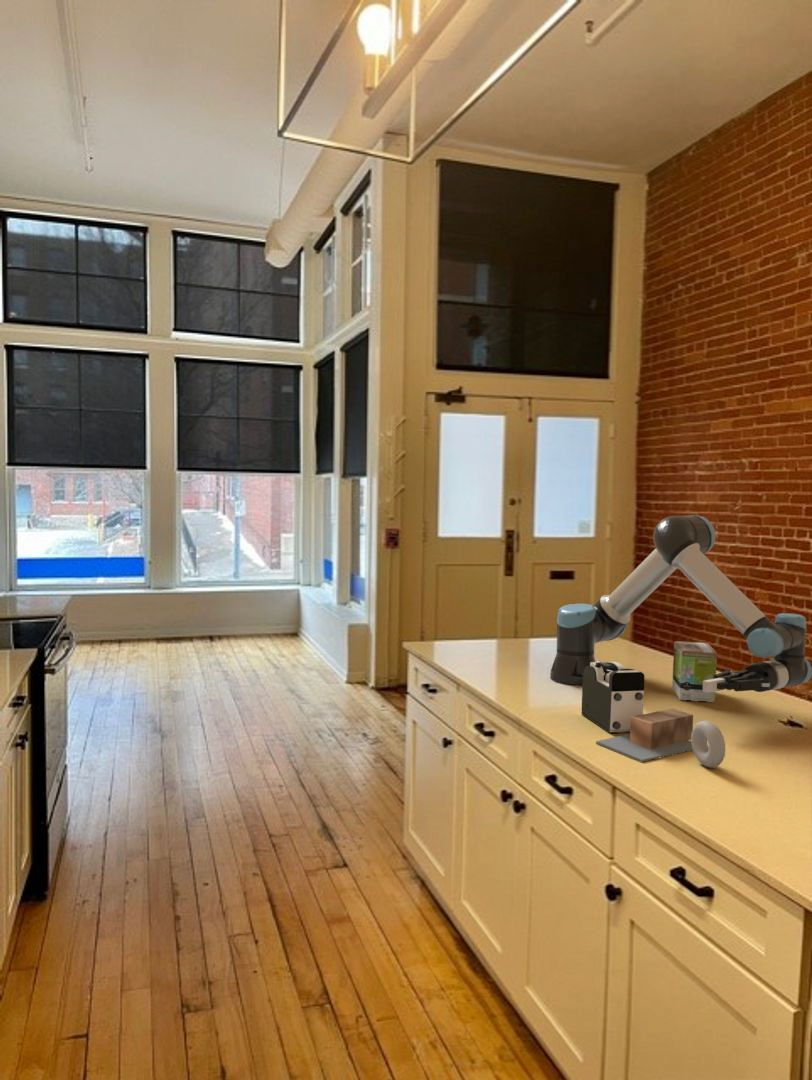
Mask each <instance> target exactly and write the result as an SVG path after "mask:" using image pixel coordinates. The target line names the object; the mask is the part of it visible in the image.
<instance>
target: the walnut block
mask: <svg viewBox="0 0 812 1080" xmlns="http://www.w3.org/2000/svg"><path fill="white" fill-rule="evenodd" d="M693 728H694V714H692V713H688V712H685V711H682V710H679V709H676V708H669V709H663V710H658V711H653V712H650V713H647V714H642V715H637V716H632V717H631V728H630V732H629V734H630V742H633V743H635V744H638V745H640V746H643V747H645V748H648V749H653V748H657V747H662V746H666V745H670V744H675V743H679V742H683V741H691V735H692V731H693Z"/></svg>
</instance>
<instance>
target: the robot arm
mask: <svg viewBox="0 0 812 1080" xmlns="http://www.w3.org/2000/svg"><path fill="white" fill-rule="evenodd" d="M652 537H653V538H652V539H653V544H654V548H655V549H653V551H651V553H649V555H648V556H647V557H646V558H645V559H644V560H643V561H642V562H641V563H640V564H639V565H638V566H637V567H636V568H635V569H634V570H633V571H632V572H631V573H630V574H629V575H628V576H627V577H626V578H625V579H624V580H623V581H622V582H621V583H620V584H619V585H618V586H617V587H616V588H615V589H614V590H613V591H612V592H611V593H610V594H603V595H602V596H600V597H599V598H598V600H597V601H596V602H595V603H594V604H593V605H592V604H587V603H574V604H573V603H571V604H570V603H569V604H566V605H563V606H561V607H560V608H558V612H557V619H556V624H557V625H556V626H557V627H556V655H555V657H554V660H553V663H552V666H551V669H550V674H549V675H550V679H551V680H552V681H554V682H557V683H560V684H567V685H576V686H578V685H579V686H583V672H584V669H585V667H586V666H590V662H596V661H597V660H596V659H595V644H596V643H602V642H609V641H613V640H615V639H617V638H620V636H622V635H623V633H625V631H626V629H627V627H628V625H627V624H629V622H630V620H631V614H632V613H633V612H634V611H635V610H636V609H637V608H638V607H639V606H640V605H641V604H642V603H643V602H644V601H645V600H646V599H647V598H648V597H649V596H650V595H651V594H652V593H653V592H654V591H655V590H657V588H658V587H659V586H660V585H662V583H664V581H666V579H668V578H669V577H670V576H671V575H672V574H673V573H674V572H675V571H676V570H679V571H680V572H682V573H683V575H684V576H685V577H686V578H687V579H688V580H689V581H690V582H691V583H692V584H693V585H694V586H695V587H696V588H697V589H698V590H699V591H700V592H701V593H702V595H703V596H705V598H707V600H709V602H711V604H713V606H714V607H715V608H716V609H717V610H718V611H719V612H720V613H721V614H722V615H723V616H724V617H725V618H726V619H727V620H728V621H729V622H730V623H731V624H732V625H733V626H734V627H735V628H736V630H738V631H739V632H740V633H741V634H742V635H743V636H744V638H745V639H746V644H747V649H748V650H749V652H751V654H753V655H754V656H756V657H758V658H764V659H765V658H771V659H770V660H766V661H758V662H753V663H750V664H749V665H747V667H746V668H745V669H741V670H740V671H736V672H733V671H732V669H729V668H728V669H727V668H726V669H725V670H724V671H722V672H719V673H716V675H713V679H710V680H704V681H703V692H706V693H709V692H715V693H716V692H719V691H724V690H727V691H731V690H733V691H734V692H746V691H748V692H749V691H753V692H756V693H763V692H768V691H775V690H779V689H782V688H789V687H797V686H800V685H802V684H805V683H807V682H808V681H809V680H811V678H812V665H811V662H810V661H809V660H807V659H806V653H805V652H806V636H807V619H806V617H805V616H804V615H802V614H796V613H789V612H788V613H787V612H785V613H783V612H782V613H777V614H776V615H775V619H774V623H773V621H771V620H770V619H769V618H768V617H767V616H766V614H765V613H763V612H762V610H760V609H759V607H758V606H756V605H755V604H754V603H753V602H752V601H751V600H750V598H748V597H747V595H745V594H744V592H742V591H741V590H740V589H739V588H738V587H737V586H736V585H735V583H733V582H732V581H731V580H730V579H729V578H728V577H727V576H726V575H725V573H723V572H722V571H721V570H720V569H719V568H718V567H717V565H715V564H714V562H712V561H711V560H710V558H708V557H707V556H706V555H705V554H706V553H708V552H709V551H710V550H711V549H712V548H713V547H714V546H715V543H716V530H715V527H714V526H713V524H712V522H711V521H710V520H709V519H707V518H706V517H704V516H702V515H701V516H700V515H697V514H696V515H695V514H689V515H671V516H670V515H669V516H666V517H665V518H663V519H662V520H660V521H659V522H657V525H656V526H655V528H654V529H653V535H652ZM772 657H773V658H772Z"/></svg>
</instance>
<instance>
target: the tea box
mask: <svg viewBox="0 0 812 1080" xmlns="http://www.w3.org/2000/svg"><path fill="white" fill-rule="evenodd" d="M717 663H718V652H717V651H716V650H715V649H714V648H712V646H711V645H710V644H709V643H707V642H696V641H695V642H692V641H680V640H679V641H678V640H675V641H674V644H673V663H672V679H671V680H672V684H671V685H672V686H671V687H672V689H673V691H674V693H675V694H676V697H677V698H678V699H679V701H686V700H691V701H690V702H698V701H707V702H706V703H714V702H715V699H716V698H715V697H716V691H715V692H709V693H706V692H703V681H704V680H710V679H713V675H716V674H717V665H718V664H717Z"/></svg>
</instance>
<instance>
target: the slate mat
mask: <svg viewBox="0 0 812 1080" xmlns="http://www.w3.org/2000/svg"><path fill="white" fill-rule="evenodd" d="M595 745H598V746H601V747H603V748H605V747H606V749H608V750H610V749H611V751H613V752H615V751H616V752H615V753H617V752H618V753H617V754H620V755H622V754H623V755H622V756H625V755H626V756H625V757H627V756H628V758H630V757H631V758H630V759H632V758H633V760H634V759H636V760H635V761H637V760H638V762H639V761H640V763H645V762H644V761H646V762H649V761H648V760H650V761H652V760H651V759H655V758H659V757H663V756H667V757H669V756H668V755H671V756H673V755H672V754H675V755H678V754H677V753H679V754H682V752H683V753H686V752H685V751H687V752H691V751H693V748H692V744H691V740H688V741H683V742H679V743H675V744H670V745H666V746H662V747H657V748H653V749H648V748H645V747H643V746H640V745H638V744H635V743H633V742H630V733H629V734H623V735H620V736H615V737H609V738H605V739H600V740H596V742H595ZM690 750H691V751H690ZM663 758H664V757H663ZM659 759H660V758H659ZM655 760H656V759H655Z"/></svg>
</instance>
